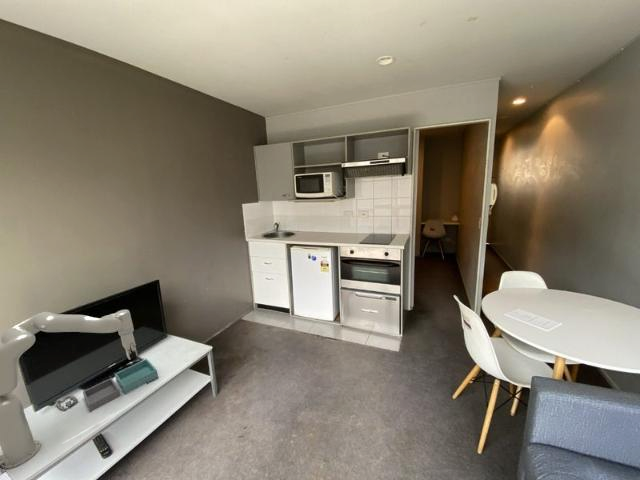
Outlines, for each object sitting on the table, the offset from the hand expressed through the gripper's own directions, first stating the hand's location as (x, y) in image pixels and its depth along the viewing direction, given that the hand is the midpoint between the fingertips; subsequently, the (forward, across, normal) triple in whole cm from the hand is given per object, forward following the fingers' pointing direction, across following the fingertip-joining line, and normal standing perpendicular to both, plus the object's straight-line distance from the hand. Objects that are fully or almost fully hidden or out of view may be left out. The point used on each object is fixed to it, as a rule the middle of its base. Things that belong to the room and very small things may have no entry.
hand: (132, 356), depth 168 cm
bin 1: (+17, 0, -18) cm, 25 cm away
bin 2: (+17, 0, 0) cm, 17 cm away
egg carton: (+18, -10, -32) cm, 38 cm away
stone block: (0, 0, 0) cm, 0 cm away
